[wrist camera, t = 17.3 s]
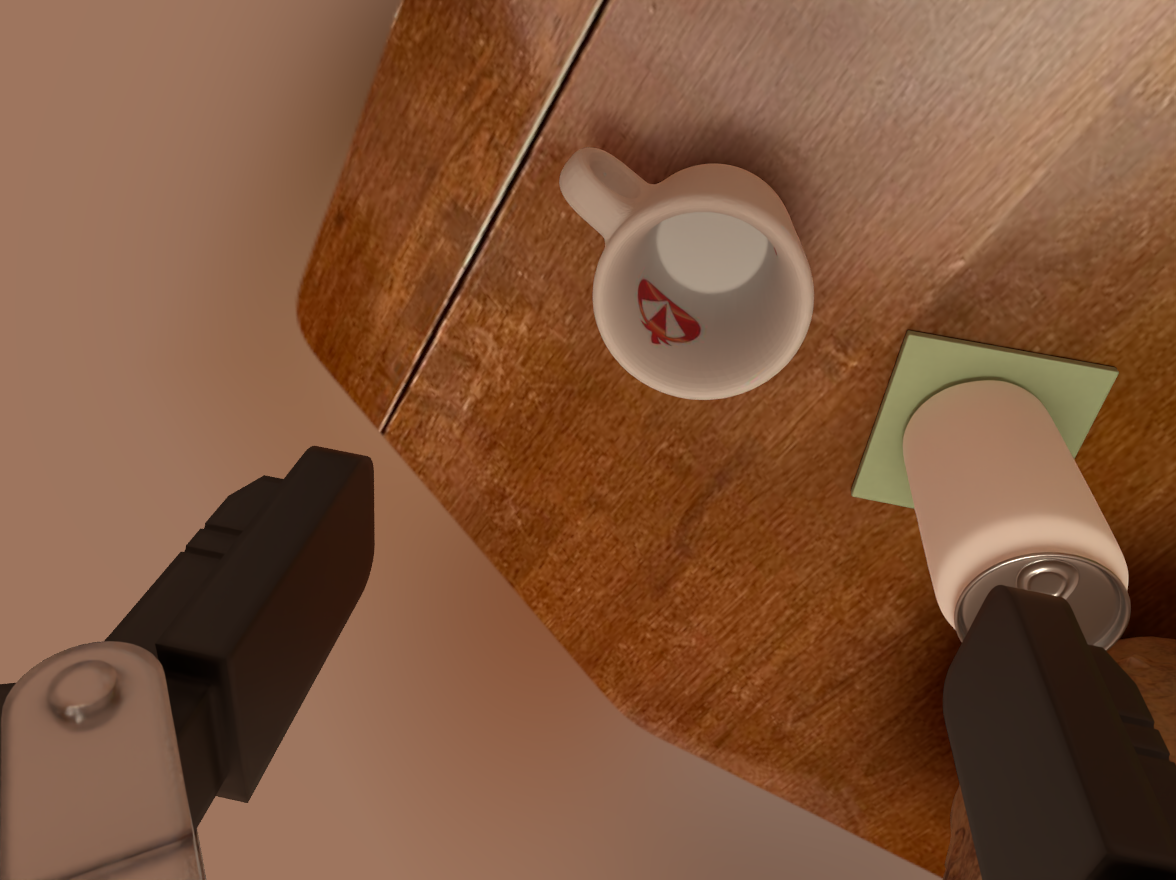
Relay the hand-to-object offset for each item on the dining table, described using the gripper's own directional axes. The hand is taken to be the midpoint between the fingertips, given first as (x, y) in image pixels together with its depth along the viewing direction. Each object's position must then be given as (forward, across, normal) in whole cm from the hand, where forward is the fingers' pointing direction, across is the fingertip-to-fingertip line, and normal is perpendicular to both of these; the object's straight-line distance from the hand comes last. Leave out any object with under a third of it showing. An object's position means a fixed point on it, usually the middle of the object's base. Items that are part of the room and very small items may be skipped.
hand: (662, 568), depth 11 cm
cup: (+29, 0, +4) cm, 29 cm away
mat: (+28, -15, +12) cm, 34 cm away
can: (+28, -14, +12) cm, 34 cm away
